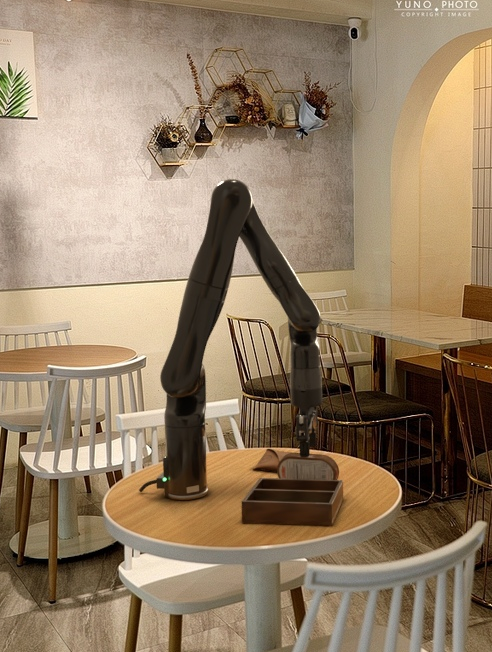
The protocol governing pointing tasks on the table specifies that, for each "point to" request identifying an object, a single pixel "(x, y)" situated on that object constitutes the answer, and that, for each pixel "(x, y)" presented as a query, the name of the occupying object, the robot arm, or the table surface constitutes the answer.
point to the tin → (307, 467)
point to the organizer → (293, 501)
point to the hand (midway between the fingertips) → (308, 451)
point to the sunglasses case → (270, 460)
